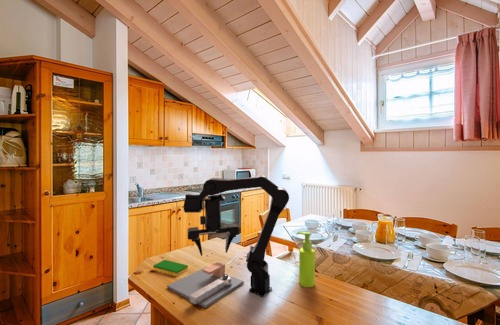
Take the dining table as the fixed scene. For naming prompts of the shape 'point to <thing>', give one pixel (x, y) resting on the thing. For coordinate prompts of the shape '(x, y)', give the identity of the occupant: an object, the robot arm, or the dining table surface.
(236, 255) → the butter knife
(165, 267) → the dish sponge
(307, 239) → the soap dispenser
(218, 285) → the lever
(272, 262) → the dining table surface
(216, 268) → the block
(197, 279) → the base plate
